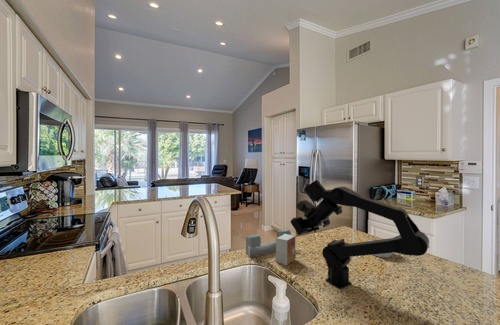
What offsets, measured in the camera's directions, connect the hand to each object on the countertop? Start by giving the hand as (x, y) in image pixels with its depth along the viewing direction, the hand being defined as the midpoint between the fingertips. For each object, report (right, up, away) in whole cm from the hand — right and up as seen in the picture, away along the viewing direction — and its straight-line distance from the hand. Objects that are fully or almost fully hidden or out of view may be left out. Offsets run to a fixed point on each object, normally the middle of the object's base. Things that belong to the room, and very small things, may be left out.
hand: (299, 233), depth 97 cm
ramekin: (+41, -14, +14) cm, 46 cm away
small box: (-5, -14, +6) cm, 16 cm away
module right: (-3, -13, +22) cm, 26 cm away
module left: (-19, -13, +13) cm, 27 cm away
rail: (-10, -13, +16) cm, 23 cm away
